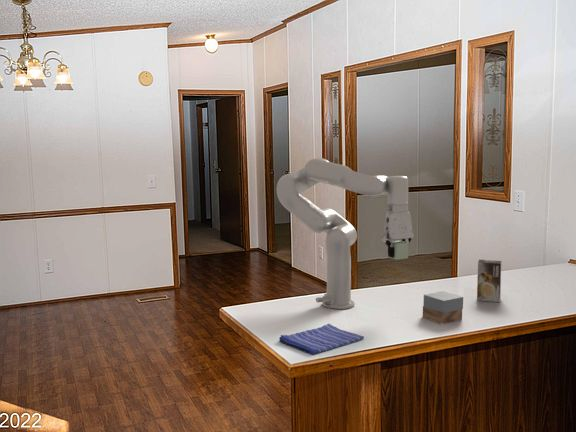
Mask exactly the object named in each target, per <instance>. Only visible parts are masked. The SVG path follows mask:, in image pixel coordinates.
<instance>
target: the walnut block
mask: <svg viewBox="0 0 576 432" xmlns="http://www.w3.org/2000/svg"><path fill="white" fill-rule="evenodd" d="M422 318H424V319H427V320H430V321H432V322H435V323H438V324H440V325H444V324H449V323H454V322H455V323H456V322H459V321H462V320H463V309H460V310H456V311H451V312H447V313H442V312H439V311H436V310H432V309H429V308H426V307H423V306H422Z"/></svg>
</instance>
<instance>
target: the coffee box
mask: <svg viewBox="0 0 576 432" xmlns="http://www.w3.org/2000/svg"><path fill="white" fill-rule="evenodd" d="M501 281H502V260H492V259H478V261H477V285H476V289H477V290H476V301H481V302H482V301H483V302H493V303H500V302H501V291H502V290H501V287H502V286H501V285H502V282H501Z"/></svg>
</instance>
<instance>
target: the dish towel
mask: <svg viewBox="0 0 576 432" xmlns="http://www.w3.org/2000/svg"><path fill="white" fill-rule="evenodd" d="M363 339H365V336H363V335H360V334H356V333H355V332H354V333H353V332H350V331H346V330H344V329H340V328H339V327H337V326H334V325H332V324H330V323H327V324H324V325H322V326H319V327H316V328H311V329H306V330H303V331H300V332H296V333H292V334H283V335H282V334H280V336H279V342H280V343H282V344H284V345H287V346H289V347H291V348H294V349H296V350H299V351H301V352H304V353H307V354H309V355H312V356H313V355H316V354H320V353H324V352H328V351H330V350H334V349H338V348H340V347H341V348H342V347H344V346H348V345H351V344H353V343H356V342H360V341H361V340H363Z"/></svg>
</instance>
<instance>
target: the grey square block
mask: <svg viewBox="0 0 576 432" xmlns="http://www.w3.org/2000/svg"><path fill="white" fill-rule="evenodd" d="M423 307H426V308H429V309H432V310H436V311H439V312H442V313H447V312H451V311H456V310H460V309H462V310H463V309H464V296H461V295H458V294H454V293H451V292H447V291H444V290H441V291H436V292H432V293H431V292H430V293H426V294H423V305H422V308H423Z"/></svg>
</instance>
